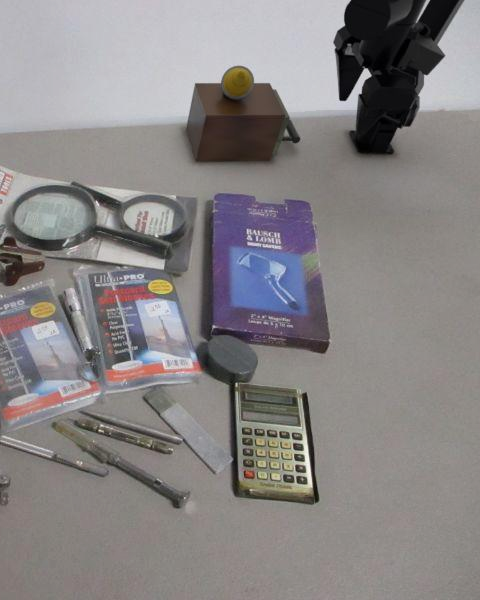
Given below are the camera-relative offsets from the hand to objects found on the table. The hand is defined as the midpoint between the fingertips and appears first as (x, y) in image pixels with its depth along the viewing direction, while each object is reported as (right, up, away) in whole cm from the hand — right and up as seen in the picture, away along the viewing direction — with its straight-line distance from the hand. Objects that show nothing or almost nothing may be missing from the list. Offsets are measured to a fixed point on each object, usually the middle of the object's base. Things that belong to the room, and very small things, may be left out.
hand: (350, 116), depth 92 cm
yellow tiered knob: (-15, +6, +9) cm, 19 cm away
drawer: (-11, +1, +16) cm, 19 cm away
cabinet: (-15, 0, +16) cm, 22 cm away
